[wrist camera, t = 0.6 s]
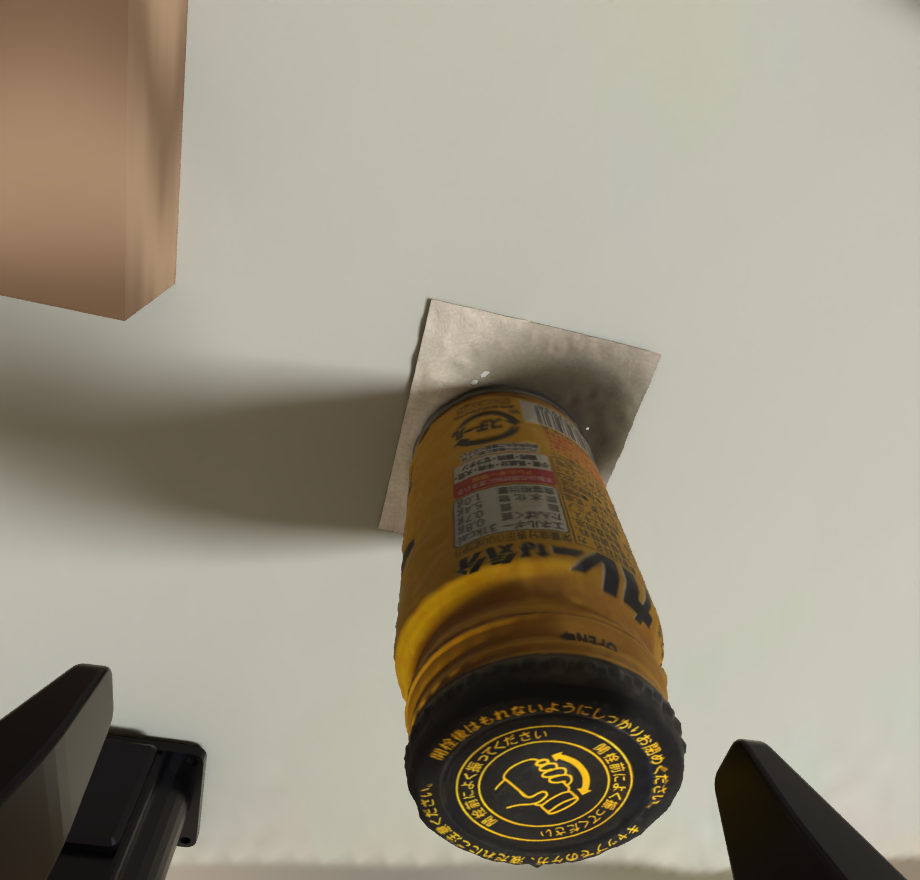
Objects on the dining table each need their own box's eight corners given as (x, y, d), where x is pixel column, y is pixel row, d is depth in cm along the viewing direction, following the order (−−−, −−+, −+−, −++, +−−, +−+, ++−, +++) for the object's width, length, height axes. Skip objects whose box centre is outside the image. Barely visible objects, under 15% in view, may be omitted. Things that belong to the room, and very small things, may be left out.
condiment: (378, 525, 24) (330, 877, 13) (431, 297, 20) (423, 531, 9) (573, 562, 25) (673, 915, 14) (658, 350, 21) (881, 616, 10)
